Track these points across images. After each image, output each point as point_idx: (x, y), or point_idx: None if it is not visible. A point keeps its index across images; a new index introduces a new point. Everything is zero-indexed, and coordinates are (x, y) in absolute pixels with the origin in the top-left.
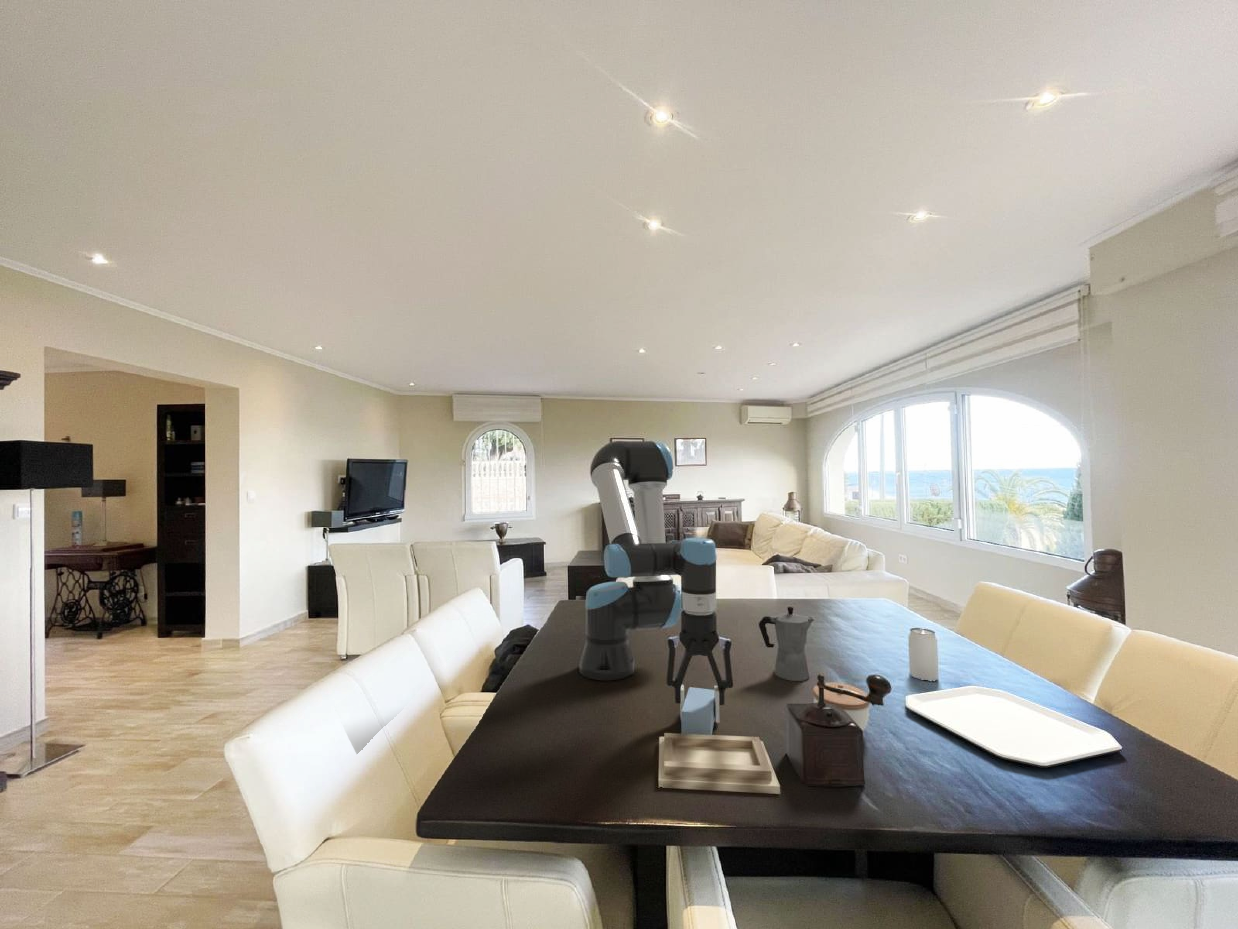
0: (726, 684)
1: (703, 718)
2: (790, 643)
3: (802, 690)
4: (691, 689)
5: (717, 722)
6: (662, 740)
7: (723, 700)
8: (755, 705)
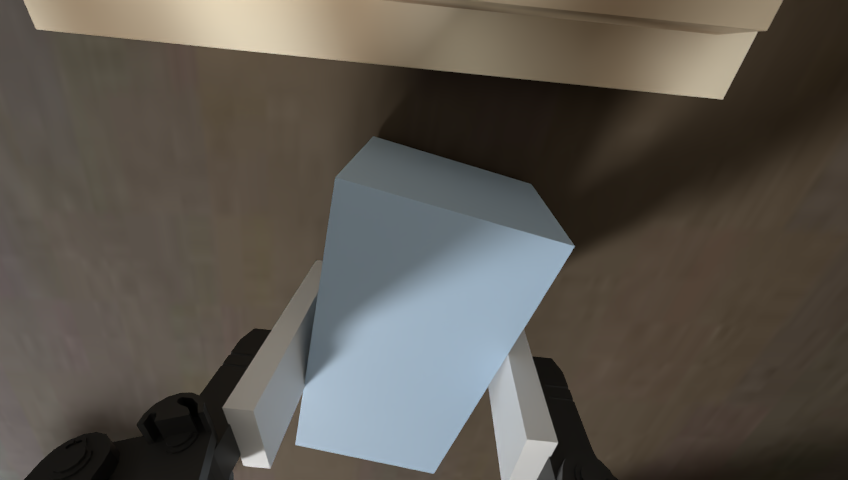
0: (117, 474)
1: (402, 184)
2: None
3: (44, 440)
4: (427, 458)
5: None
6: (730, 39)
7: (237, 352)
8: (181, 381)
